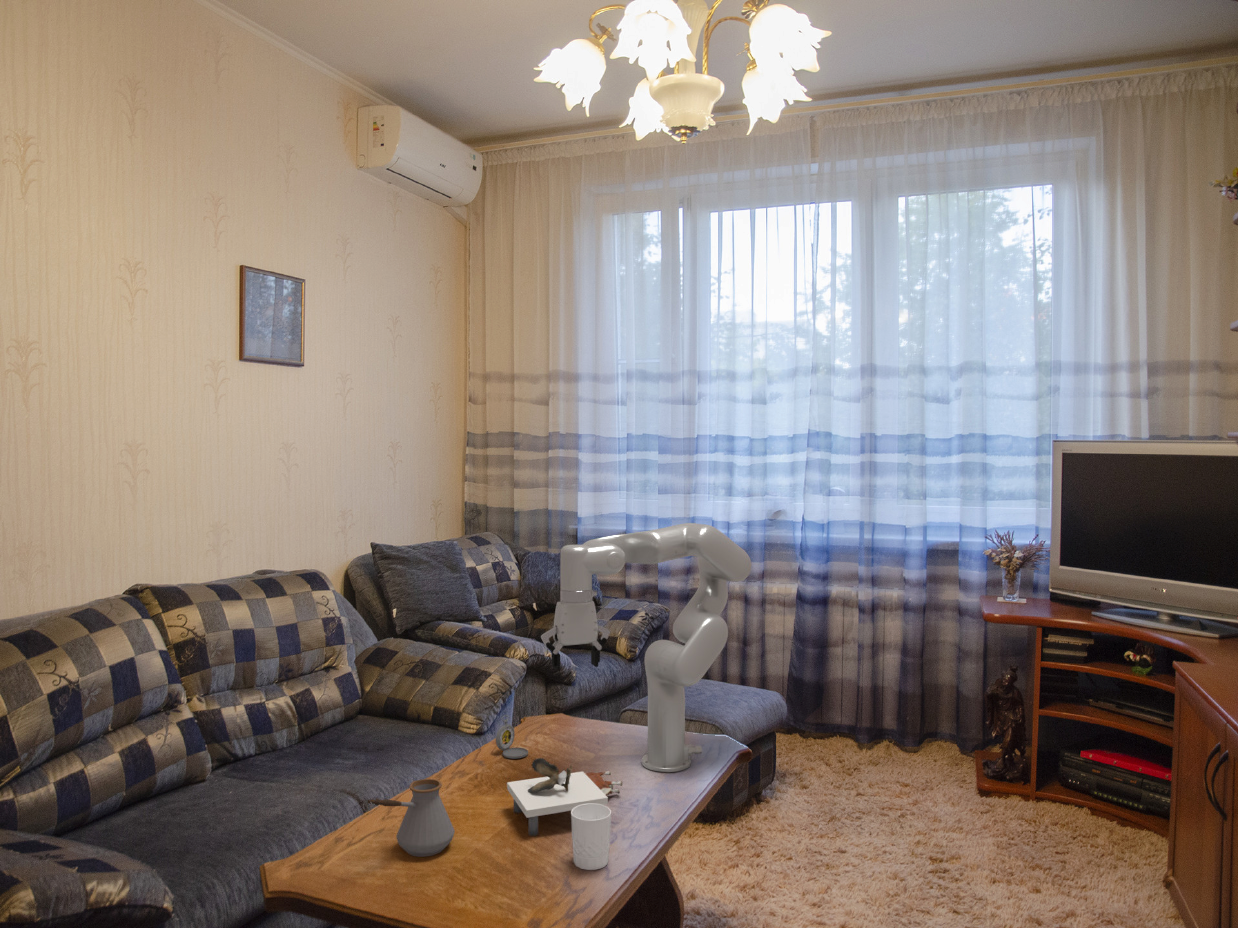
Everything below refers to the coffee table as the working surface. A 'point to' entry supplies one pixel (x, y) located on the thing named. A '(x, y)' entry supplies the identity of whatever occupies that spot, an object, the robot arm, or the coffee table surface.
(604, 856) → the white cup
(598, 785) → the bull figurine
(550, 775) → the eagle figurine
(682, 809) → the coffee table surface
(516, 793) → the display shelf
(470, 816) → the coffee table surface
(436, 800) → the coffee pot
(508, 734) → the pocket watch
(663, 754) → the robot arm
